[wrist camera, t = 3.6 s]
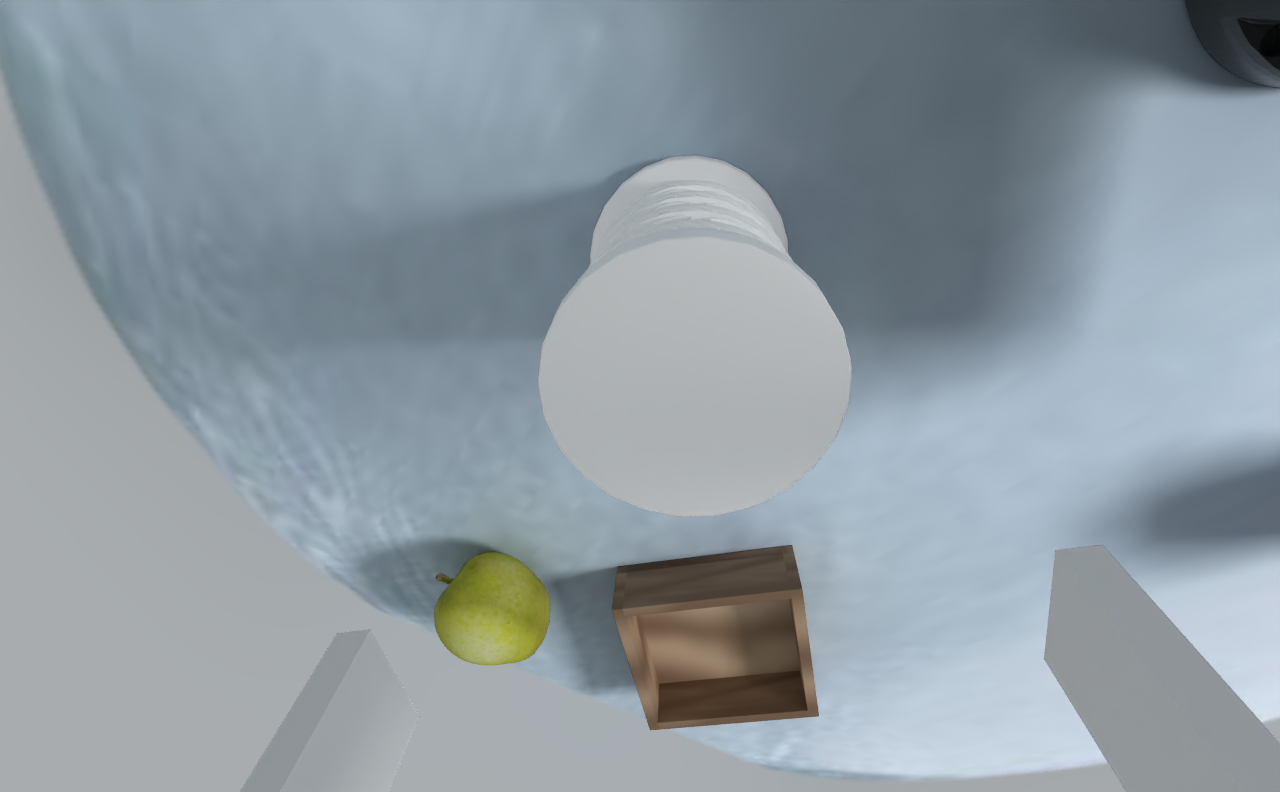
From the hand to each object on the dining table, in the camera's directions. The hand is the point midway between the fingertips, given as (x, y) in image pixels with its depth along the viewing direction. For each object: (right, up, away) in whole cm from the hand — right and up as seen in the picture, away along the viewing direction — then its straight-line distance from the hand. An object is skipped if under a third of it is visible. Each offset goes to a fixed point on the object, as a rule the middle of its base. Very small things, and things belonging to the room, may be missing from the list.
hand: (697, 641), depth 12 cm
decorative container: (+2, +13, +26) cm, 29 cm away
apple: (-12, -9, +38) cm, 41 cm away
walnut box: (+5, -14, +39) cm, 42 cm away
